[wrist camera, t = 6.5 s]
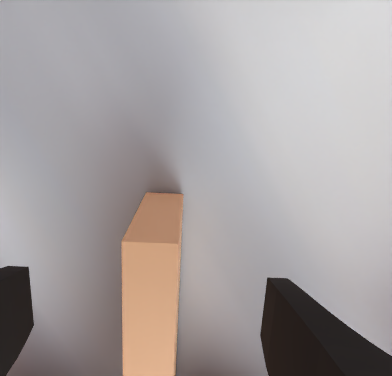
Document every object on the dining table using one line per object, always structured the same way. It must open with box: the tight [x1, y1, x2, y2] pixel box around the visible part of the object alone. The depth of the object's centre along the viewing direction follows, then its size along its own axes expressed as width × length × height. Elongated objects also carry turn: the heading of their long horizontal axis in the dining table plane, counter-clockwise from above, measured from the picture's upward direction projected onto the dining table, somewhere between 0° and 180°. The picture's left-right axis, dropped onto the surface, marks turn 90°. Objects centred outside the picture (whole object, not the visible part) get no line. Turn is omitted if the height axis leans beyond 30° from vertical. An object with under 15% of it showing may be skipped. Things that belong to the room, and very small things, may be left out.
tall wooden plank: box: [122, 192, 183, 376], centre depth 15 cm, size 2×12×6 cm, turn 177°
